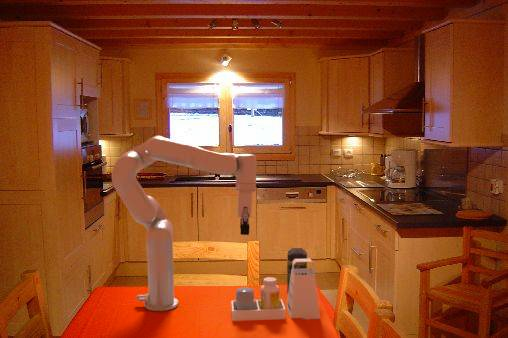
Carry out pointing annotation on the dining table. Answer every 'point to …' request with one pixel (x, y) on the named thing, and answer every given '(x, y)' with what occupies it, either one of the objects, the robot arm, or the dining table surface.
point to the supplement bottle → (269, 294)
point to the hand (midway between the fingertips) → (244, 231)
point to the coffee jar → (296, 254)
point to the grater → (303, 293)
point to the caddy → (258, 312)
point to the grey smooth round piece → (244, 299)
